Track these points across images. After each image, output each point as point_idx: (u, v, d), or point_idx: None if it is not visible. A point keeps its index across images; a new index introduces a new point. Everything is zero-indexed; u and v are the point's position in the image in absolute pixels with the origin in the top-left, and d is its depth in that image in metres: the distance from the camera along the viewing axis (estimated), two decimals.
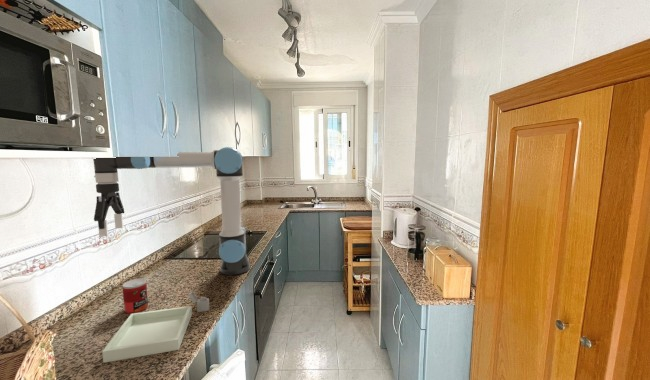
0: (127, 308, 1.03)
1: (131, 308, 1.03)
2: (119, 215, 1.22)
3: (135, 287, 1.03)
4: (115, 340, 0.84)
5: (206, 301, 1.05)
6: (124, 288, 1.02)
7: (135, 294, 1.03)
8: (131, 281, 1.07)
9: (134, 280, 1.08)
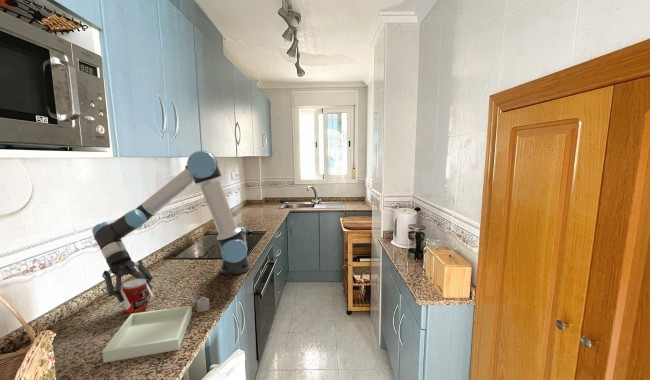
0: None
1: (131, 308, 1.03)
2: None
3: (135, 287, 1.03)
4: (115, 340, 0.84)
5: (206, 301, 1.05)
6: (124, 288, 1.02)
7: (135, 294, 1.03)
8: (131, 281, 1.07)
9: (134, 280, 1.08)
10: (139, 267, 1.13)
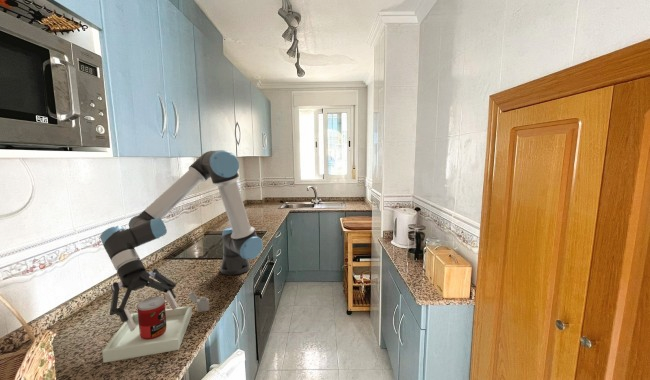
0: (143, 333, 0.87)
1: (147, 333, 0.87)
2: (167, 293, 0.96)
3: (153, 308, 0.87)
4: (115, 340, 0.84)
5: (206, 301, 1.05)
6: (140, 309, 0.86)
7: (153, 316, 0.87)
8: (147, 300, 0.91)
9: (150, 299, 0.92)
10: (156, 276, 0.98)
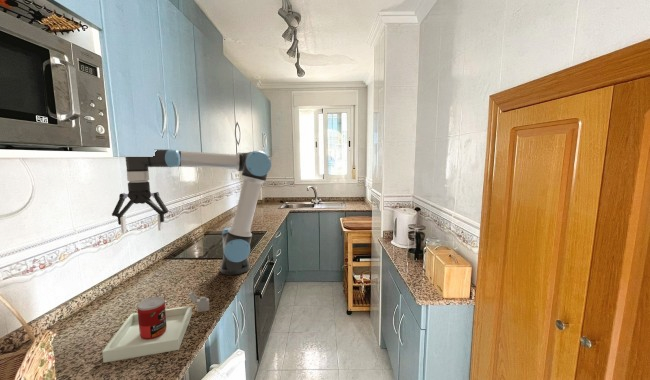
0: (143, 333, 0.87)
1: (147, 333, 0.87)
2: None
3: (153, 308, 0.87)
4: (115, 340, 0.84)
5: (206, 301, 1.05)
6: (140, 309, 0.86)
7: (153, 316, 0.87)
8: (147, 300, 0.91)
9: (150, 299, 0.92)
10: None
